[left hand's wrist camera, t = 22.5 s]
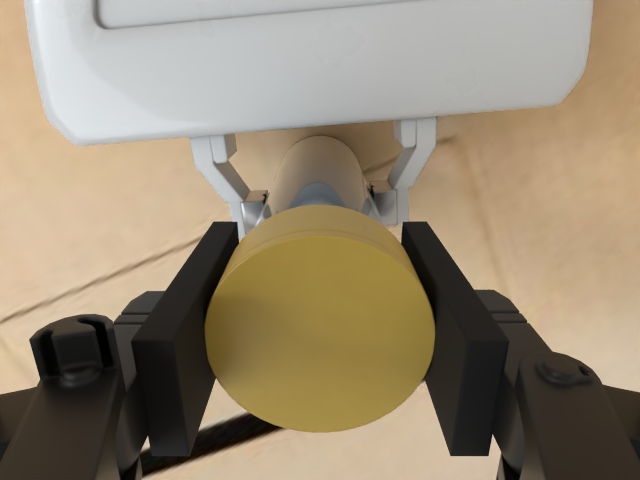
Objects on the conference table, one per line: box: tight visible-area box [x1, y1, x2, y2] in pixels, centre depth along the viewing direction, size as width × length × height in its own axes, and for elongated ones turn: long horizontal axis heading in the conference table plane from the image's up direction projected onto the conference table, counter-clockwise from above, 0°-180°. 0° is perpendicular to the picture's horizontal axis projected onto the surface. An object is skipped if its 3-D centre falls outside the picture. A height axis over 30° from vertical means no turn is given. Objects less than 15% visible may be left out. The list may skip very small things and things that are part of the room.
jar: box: [255, 136, 385, 227], centre depth 18 cm, size 5×5×16 cm
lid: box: [204, 205, 435, 432], centre depth 11 cm, size 5×5×2 cm
